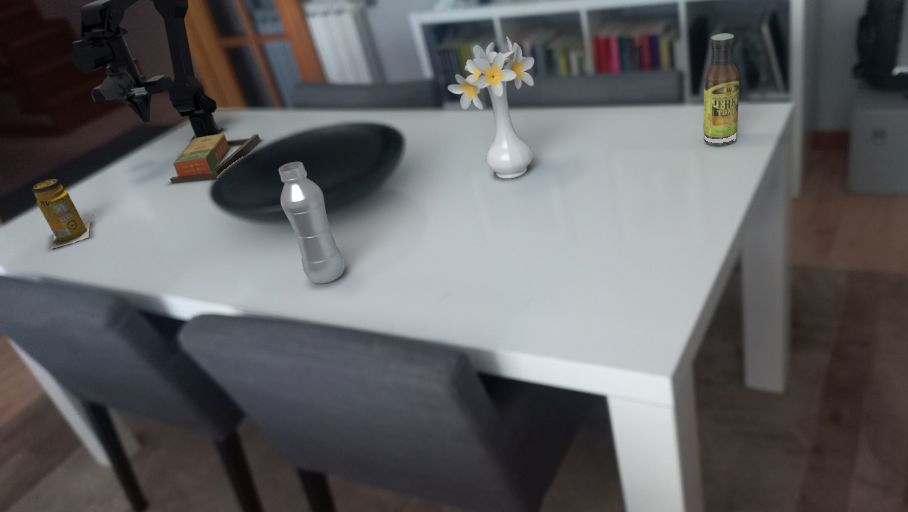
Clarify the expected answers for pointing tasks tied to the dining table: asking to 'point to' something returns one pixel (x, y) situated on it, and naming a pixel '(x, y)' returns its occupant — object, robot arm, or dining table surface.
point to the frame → (241, 151)
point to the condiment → (60, 213)
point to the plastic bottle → (310, 224)
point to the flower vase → (498, 104)
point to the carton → (201, 155)
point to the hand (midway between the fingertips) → (147, 121)
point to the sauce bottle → (721, 91)
